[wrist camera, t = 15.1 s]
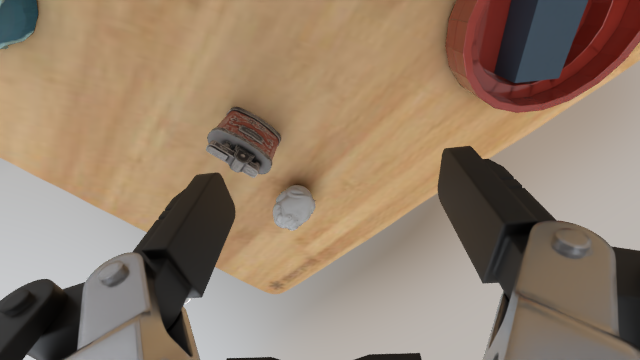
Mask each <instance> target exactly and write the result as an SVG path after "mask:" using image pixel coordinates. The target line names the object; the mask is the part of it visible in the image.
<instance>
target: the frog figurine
mask: <svg viewBox="0 0 640 360" xmlns="http://www.w3.org/2000/svg"><path fill="white" fill-rule="evenodd" d="M314 209H315V200H314V199H313V198H312V195H311V193H310V191H309V190H308V189H307V188H305V187H304V186H301V185H293V186H290V187H289V188H287V189H286V190H285V191H282V192H281V194H280V195H279V196H278V197H277V199H276V204H275V206H274V208H273V217H274V222H275V224H276V225H277V226H279V227H281V228H288V229H289V230H292V231H293V230H296V229H297V228H298V226H301V225H302V224H303V223H304V222H306V221H307V220H308V219H309V218H310V216H311V214H312V213H313V211H314Z"/></svg>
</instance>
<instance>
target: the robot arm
mask: <svg viewBox="0 0 640 360" xmlns="http://www.w3.org/2000/svg"><path fill="white" fill-rule="evenodd" d="M438 195H439V199H440V202H441V204H442V206H443V208H444V210H445V212H446V214H447V216H448V218H449V219H450V221H451V223H452V225H453V227H454V229H455V231H456V233H457V234H458V237H459V239H460V241H461V242H462V244H463V246H464V248H465V250H466V252H467V254H468V256H469V258H470V259H471V262H472V263H473V265H474V267H475V269H476V271H477V273H478V275H479V277H480V279H481V281H482V283H500V285H501V287H502V289H503V290H504V291H503V294H502V296H501V299H500V302H499V306H498V309H497V313H496V317H495V320H494V324H493V327H492V330H491V334H490V337H489V341H488V344H487V348H486V351H485V354H484V358H483V360H640V251H637V250H630V249H624V248H617V247H611V246H610V245H609V244H608V243H607V242H606V241H605V240H604V239H603V238H601V237H600V236H599V235H597V234H596V233H594V232H592V231H590V230H588V229H586V228H584V227H581V226H579V225H576V224H573V223H569V222H564V221H556V220H555V219H554V217H553V216H552V215H550V213H548V211H547V210H546V209H545V208H544V207H543V206H542V205H541V204H540V203H539V202H538V201H537V200H536V199H535V198H534V197H533V196H532V195H531V194H530V193H529V192H528V191H527V190H526V189H525V188H522V185H521V184H520V183H519V182H518V181H517V180H516V179H514V178H513V176H512V175H511V174H510V173H509V172H508V171H507V170H506V169H505V168H504V167H503V166H501V165H499V164H497V163H495V162H493V161H491V160H489V159H482V158H481V157H480V156H479V155H478V154H477V152H476V151H475V150H474V149H473V148H472V147H471V146H464V147H454V148H446V149H444V151H443V154H442V160H441V167H440V174H439V181H438ZM234 219H235V206H234V203H233V201H232V198H231V196H230V194H229V191H228V189H227V187H226V185H225V182H224V180H223V178H222V176H221V175H220V174H219V173H208V174H199V175H196V176H195V177H194V178H193V180H192V181H191V183H190V184H189V185H188V187H187V188H186V189H184V190H183V191H182V192H181V193H179V194H178V195H177V196H176V197H174V198H173V199H172V200H171V202H170V203H169V204H168V206H167V207H166V208H165V211H163V212H162V214H161V215H160V216H159V220H156V222H155V223H154V224H153V226H152V227H151V228H150V230H149V231H148V232H147V234H146V235H145V236H144V238H143V239H142V240H141V241H140V243H139V244H138V245H137V247H136V248H135V249H134V251H133V252H130V253H124V254H121V255H118V256H116V257H114V258H112V259H110V260H108V261H107V262H105V263H103V264H102V265H101V266H99V267H98V268H97V269H96V270H95V271H94V272H93V273H92V274H91V275H90V277H89V278H88V279H87V281H86V282H84V283H81V284H78V285H75V286H72V287H69V288H66V289H63V290H62V289H61V288H60V287H59V286H57V285H56V284H55V283H54V282H52V281H51V280H48V279H41V280H37V281H33V282H31V283H28V284H26V285H24V286H22V287H20V288H18V289H17V290H15V291H13V292H12V293H10V294H9V295H8V296H6V297H5V298H3V299H2V300H1V301H0V360H23V358H24V357H25V355H29V356H31V357H33V358H34V359H36V360H200V358H199V354H198V350H197V347H196V343H195V340H194V336H193V333H192V329H191V326H190V322H189V319H188V315H187V312H186V309H185V308H184V307H183V305H184V303H185V301H186V298H199V297H202V296H203V293H204V291H205V289H206V286H207V284H208V282H209V279H210V277H211V274H212V272H213V269H214V267H215V265H216V262H217V260H218V258H219V255H220V253H221V250H222V248H223V246H224V243H225V241H226V238H227V236H228V234H229V231H230V229H231V227H232V224H233V222H234ZM227 360H279V359H276V358H272V357H265V358H264V357H262V358H227ZM355 360H421V356H420V353H412V354H411V353H409V354H375V355H374V354H372V355H367V356H364V357H361V358H358V359H355Z"/></svg>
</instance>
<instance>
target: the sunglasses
mask: <svg viewBox="0 0 640 360" xmlns="http://www.w3.org/2000/svg"><path fill="white" fill-rule="evenodd" d="M37 17H38V9H37V1H36V0H0V49H8V46H7V45H10V44H14V43H17V42H21V41H24V40H25V39H27V38H28V37H29V36H30V35H31V34H32V33H33V32H34V29H35V25H36V21H37Z"/></svg>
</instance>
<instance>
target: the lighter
mask: <svg viewBox="0 0 640 360" xmlns="http://www.w3.org/2000/svg"><path fill="white" fill-rule="evenodd" d="M207 139H208V143H209V145H208V146H207V148H206V151H207V152H209V153H210V154H212V155H214V156H215V157H217V158H219V159H221V160H222V161H224V162H226V163H228V165H229V166H230V168H231V169H232V170H233V171H235V172H244V173H245V174H247V175H249V176H251V177H256V176H257V174H265V173H267V172H269V171H270V169H271V166H272V159H273V156H274V154H275V151H276V148H277V147H278V145H279V143H280V141H281V137H280V134H279V133H278V132H277V131H276V130H275V129H274V128H273V127H272V126H270V125H269V124H268V123H266V122H265V121H264V120H262V119H261V118H259V117H258V116H256V115H254V114H252V113H251V112H248V111H246V110H244V109H242V108H239V107H233V108H231V109H230V110H229V112H228V113H227V115H226V117H225V118H224V119H223V120H222V122H221V123H220V124H219V125H218V126H217V127H216V128H214V129H212V131H211V132H210V133H209V134H208V137H207Z"/></svg>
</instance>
